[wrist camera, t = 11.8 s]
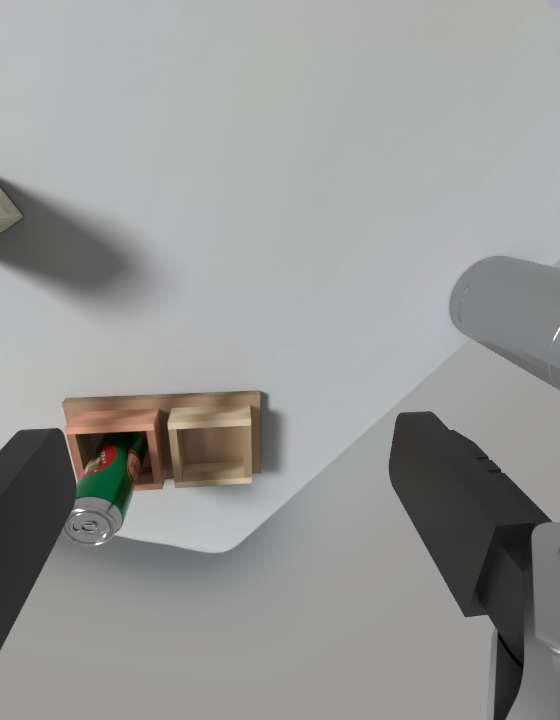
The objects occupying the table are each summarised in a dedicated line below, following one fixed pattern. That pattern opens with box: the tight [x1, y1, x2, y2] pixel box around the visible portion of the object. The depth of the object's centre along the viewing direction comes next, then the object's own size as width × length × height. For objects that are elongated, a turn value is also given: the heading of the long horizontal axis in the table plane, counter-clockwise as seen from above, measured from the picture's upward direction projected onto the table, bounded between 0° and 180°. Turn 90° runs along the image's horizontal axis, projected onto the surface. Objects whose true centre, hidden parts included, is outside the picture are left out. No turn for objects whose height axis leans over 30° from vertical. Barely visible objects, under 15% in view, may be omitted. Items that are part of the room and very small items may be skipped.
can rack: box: [62, 391, 261, 491], centre depth 42 cm, size 21×11×4 cm, turn 89°
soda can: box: [62, 431, 148, 546], centre depth 37 cm, size 5×5×12 cm
